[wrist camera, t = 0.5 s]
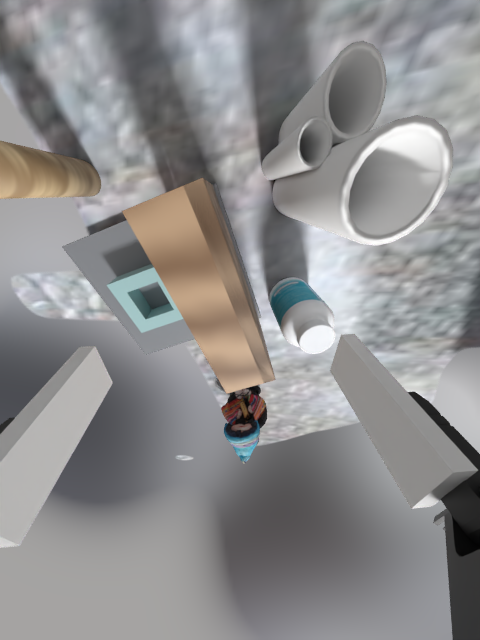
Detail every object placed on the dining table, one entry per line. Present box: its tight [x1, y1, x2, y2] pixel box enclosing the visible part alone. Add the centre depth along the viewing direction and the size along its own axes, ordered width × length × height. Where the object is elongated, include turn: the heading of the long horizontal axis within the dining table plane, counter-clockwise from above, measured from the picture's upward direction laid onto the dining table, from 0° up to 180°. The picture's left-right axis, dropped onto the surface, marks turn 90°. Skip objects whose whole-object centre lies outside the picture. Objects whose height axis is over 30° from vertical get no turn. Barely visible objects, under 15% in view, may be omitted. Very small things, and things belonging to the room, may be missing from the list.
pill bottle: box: [269, 277, 335, 354], centre depth 32 cm, size 8×7×14 cm
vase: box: [262, 41, 453, 246], centre depth 20 cm, size 11×7×20 cm, turn 19°
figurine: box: [221, 386, 267, 463], centre depth 44 cm, size 10×7×15 cm
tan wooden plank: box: [122, 178, 275, 394], centre depth 28 cm, size 22×6×16 cm, turn 19°
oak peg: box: [0, 141, 101, 199], centre depth 21 cm, size 4×4×14 cm
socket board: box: [63, 184, 261, 355], centre depth 33 cm, size 22×24×4 cm
